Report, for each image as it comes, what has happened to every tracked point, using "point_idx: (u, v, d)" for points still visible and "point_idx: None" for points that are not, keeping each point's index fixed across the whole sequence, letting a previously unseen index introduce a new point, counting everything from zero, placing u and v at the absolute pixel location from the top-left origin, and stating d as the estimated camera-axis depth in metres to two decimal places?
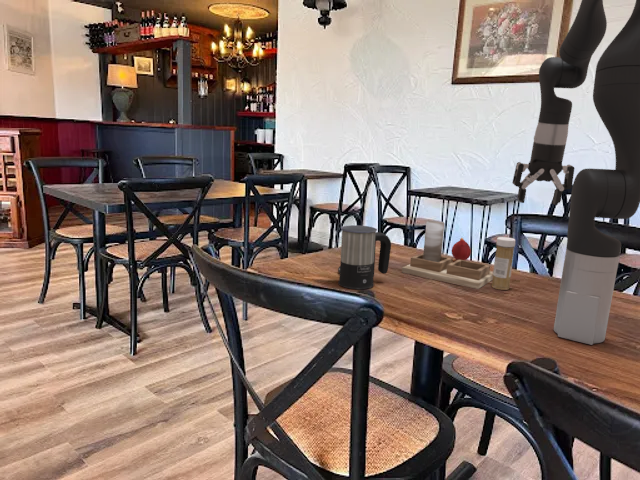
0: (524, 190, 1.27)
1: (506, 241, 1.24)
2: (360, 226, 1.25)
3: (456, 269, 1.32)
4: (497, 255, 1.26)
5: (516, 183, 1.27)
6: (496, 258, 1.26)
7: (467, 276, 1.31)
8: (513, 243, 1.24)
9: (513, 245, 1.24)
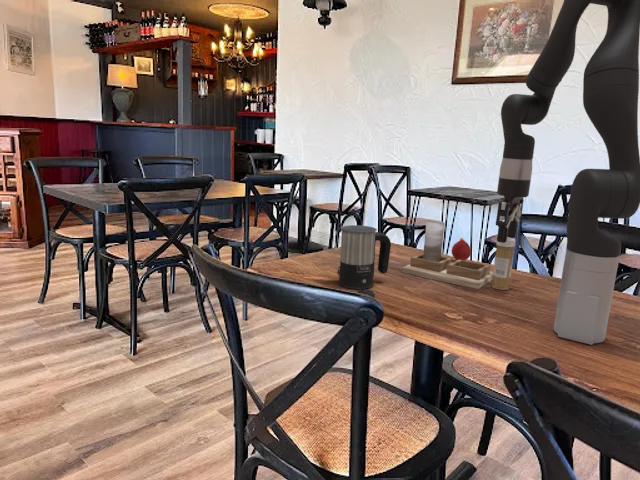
0: (507, 229, 1.21)
1: (506, 241, 1.24)
2: (360, 226, 1.25)
3: (456, 269, 1.32)
4: (497, 255, 1.26)
5: (506, 223, 1.19)
6: (496, 258, 1.26)
7: (467, 276, 1.31)
8: (513, 243, 1.24)
9: (513, 245, 1.24)
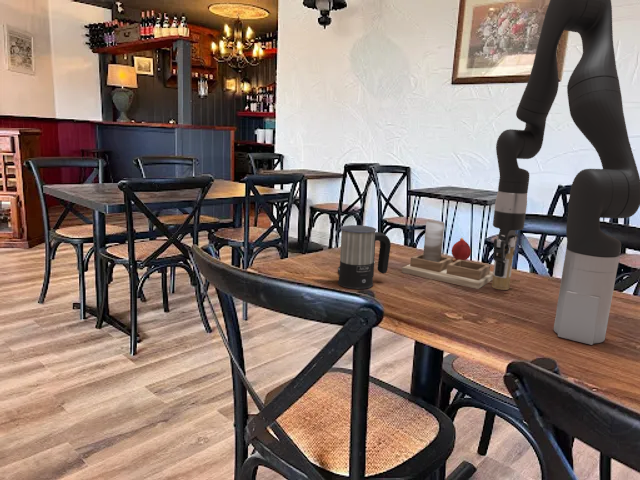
0: (504, 264, 1.24)
1: None
2: (360, 226, 1.25)
3: (456, 269, 1.32)
4: None
5: (503, 259, 1.22)
6: None
7: (467, 276, 1.31)
8: (513, 243, 1.24)
9: (513, 245, 1.24)
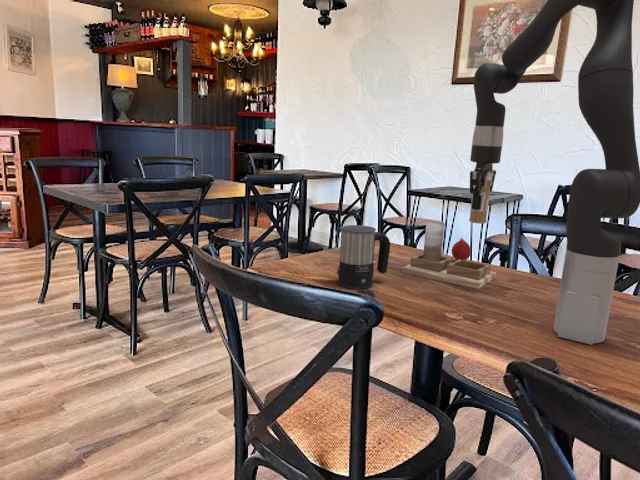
0: (481, 197, 1.28)
1: None
2: (359, 226, 1.26)
3: (456, 269, 1.32)
4: None
5: (479, 191, 1.26)
6: None
7: (467, 276, 1.31)
8: (489, 176, 1.27)
9: (489, 179, 1.28)
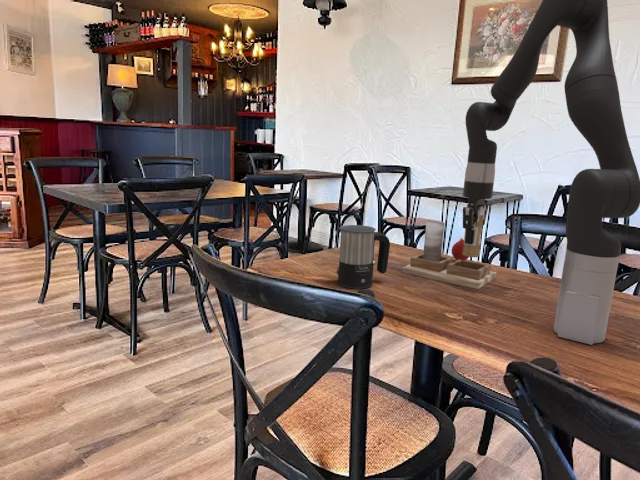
0: (474, 232, 1.30)
1: None
2: (359, 226, 1.26)
3: (456, 269, 1.32)
4: None
5: (472, 226, 1.28)
6: None
7: (467, 276, 1.31)
8: (482, 211, 1.30)
9: (482, 214, 1.30)
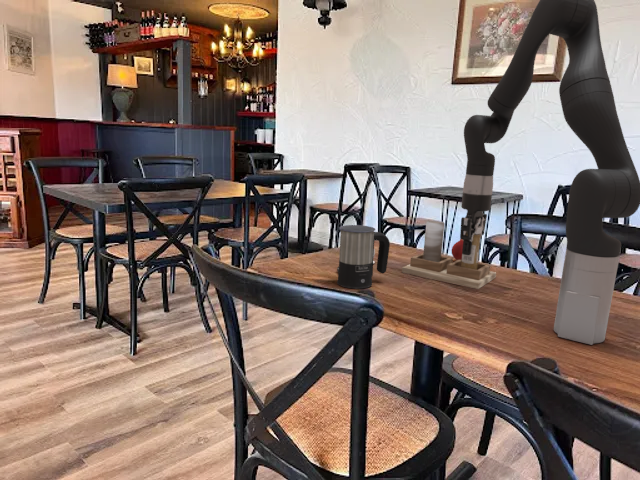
0: (471, 243, 1.30)
1: None
2: (359, 226, 1.26)
3: (456, 269, 1.32)
4: None
5: (469, 237, 1.28)
6: None
7: (467, 276, 1.31)
8: (479, 230, 1.31)
9: (479, 232, 1.31)
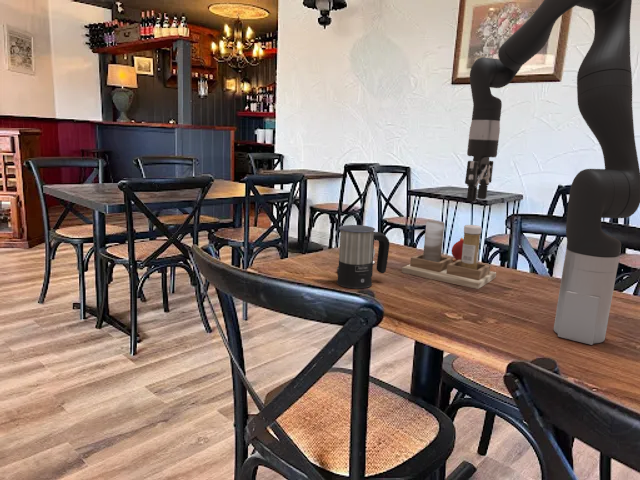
0: (476, 188, 1.26)
1: (472, 228, 1.30)
2: (358, 226, 1.26)
3: (456, 269, 1.32)
4: (464, 242, 1.33)
5: (475, 181, 1.24)
6: (464, 245, 1.33)
7: (467, 276, 1.31)
8: (479, 230, 1.31)
9: (479, 232, 1.31)
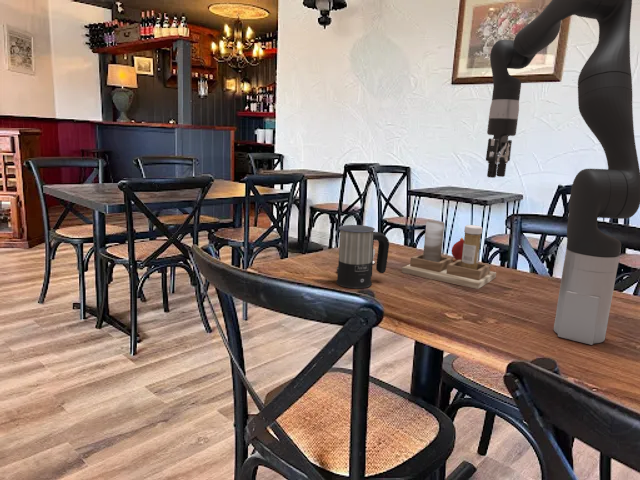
0: (496, 165, 1.32)
1: (473, 229, 1.30)
2: (358, 226, 1.26)
3: (456, 269, 1.32)
4: (465, 242, 1.33)
5: (495, 158, 1.30)
6: (464, 245, 1.33)
7: (467, 276, 1.31)
8: (479, 230, 1.31)
9: (480, 232, 1.31)
